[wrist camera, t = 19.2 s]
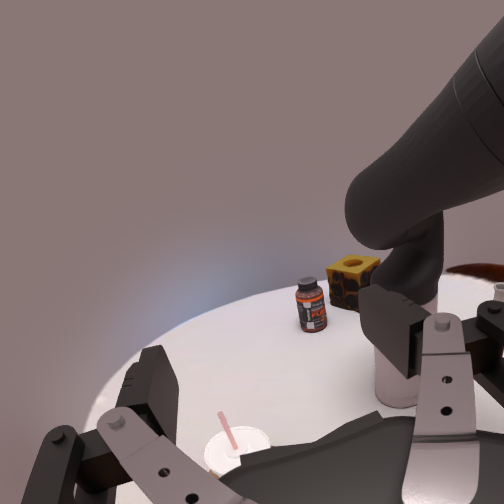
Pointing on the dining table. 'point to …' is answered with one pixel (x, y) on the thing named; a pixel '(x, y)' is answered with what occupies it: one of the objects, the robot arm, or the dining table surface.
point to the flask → (499, 292)
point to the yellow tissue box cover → (350, 279)
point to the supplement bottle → (311, 305)
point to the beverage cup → (232, 446)
